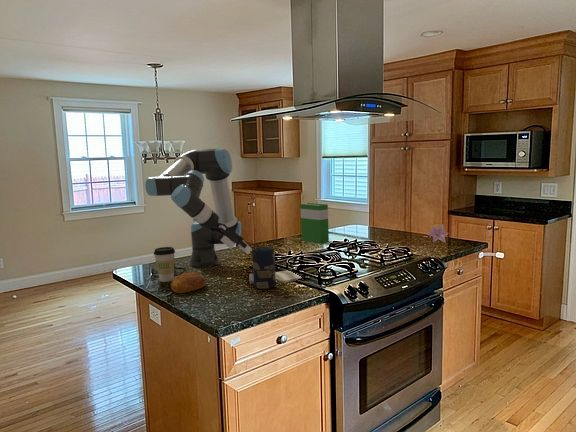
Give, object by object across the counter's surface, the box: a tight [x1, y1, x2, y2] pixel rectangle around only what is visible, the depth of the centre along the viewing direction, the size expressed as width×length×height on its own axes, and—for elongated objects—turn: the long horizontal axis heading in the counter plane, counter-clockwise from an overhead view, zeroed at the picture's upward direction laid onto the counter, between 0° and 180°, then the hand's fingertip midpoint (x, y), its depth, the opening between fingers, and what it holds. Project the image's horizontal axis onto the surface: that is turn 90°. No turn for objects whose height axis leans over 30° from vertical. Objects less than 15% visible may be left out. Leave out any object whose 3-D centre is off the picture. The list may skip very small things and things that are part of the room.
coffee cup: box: [153, 246, 176, 283], centre depth 210 cm, size 10×10×15 cm
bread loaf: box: [170, 271, 207, 294], centre depth 196 cm, size 14×16×8 cm
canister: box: [251, 245, 277, 290], centre depth 192 cm, size 10×10×18 cm
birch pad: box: [275, 269, 302, 284], centre depth 208 cm, size 15×15×1 cm
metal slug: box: [248, 273, 254, 285], centre depth 200 cm, size 4×4×4 cm
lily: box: [425, 223, 449, 243], centre depth 275 cm, size 12×12×10 cm
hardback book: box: [299, 202, 330, 245], centre depth 289 cm, size 18×7×24 cm, turn 41°
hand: (241, 249), depth 185 cm, fingers open, 13 cm apart
